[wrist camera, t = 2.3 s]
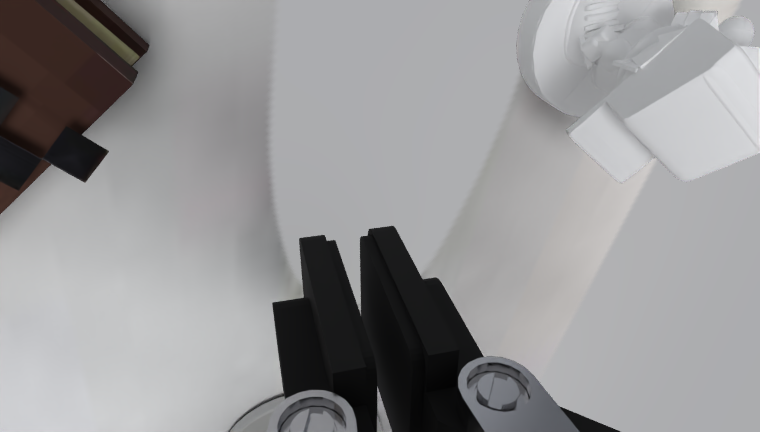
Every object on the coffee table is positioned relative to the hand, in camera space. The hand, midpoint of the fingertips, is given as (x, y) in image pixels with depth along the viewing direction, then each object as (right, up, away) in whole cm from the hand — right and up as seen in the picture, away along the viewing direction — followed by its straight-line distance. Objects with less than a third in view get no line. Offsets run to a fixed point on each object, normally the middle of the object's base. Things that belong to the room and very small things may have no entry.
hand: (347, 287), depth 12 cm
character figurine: (+12, +12, +20) cm, 26 cm away
